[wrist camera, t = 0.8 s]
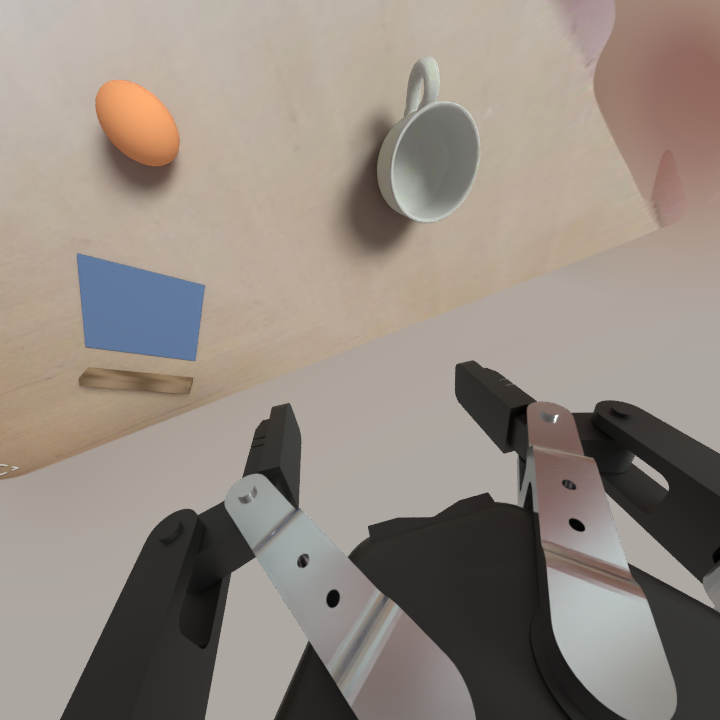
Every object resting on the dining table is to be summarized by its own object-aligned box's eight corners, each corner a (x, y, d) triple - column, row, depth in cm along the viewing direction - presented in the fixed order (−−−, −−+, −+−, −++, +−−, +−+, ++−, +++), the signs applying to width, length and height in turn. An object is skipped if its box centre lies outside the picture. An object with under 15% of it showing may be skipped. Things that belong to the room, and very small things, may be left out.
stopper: (88, 374, 35) (79, 385, 33) (88, 367, 34) (78, 378, 32) (192, 383, 41) (189, 393, 39) (193, 377, 40) (190, 387, 38)
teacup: (434, 212, 38) (469, 219, 32) (367, 219, 36) (391, 228, 30) (449, 78, 30) (500, 52, 24) (363, 74, 28) (396, 44, 21)
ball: (113, 149, 25) (83, 142, 20) (111, 73, 22) (77, 48, 18) (182, 177, 27) (169, 177, 23) (187, 113, 25) (173, 99, 21)
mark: (86, 346, 33) (85, 346, 33) (77, 253, 28) (76, 253, 28) (195, 360, 39) (195, 360, 38) (204, 285, 34) (204, 285, 33)
